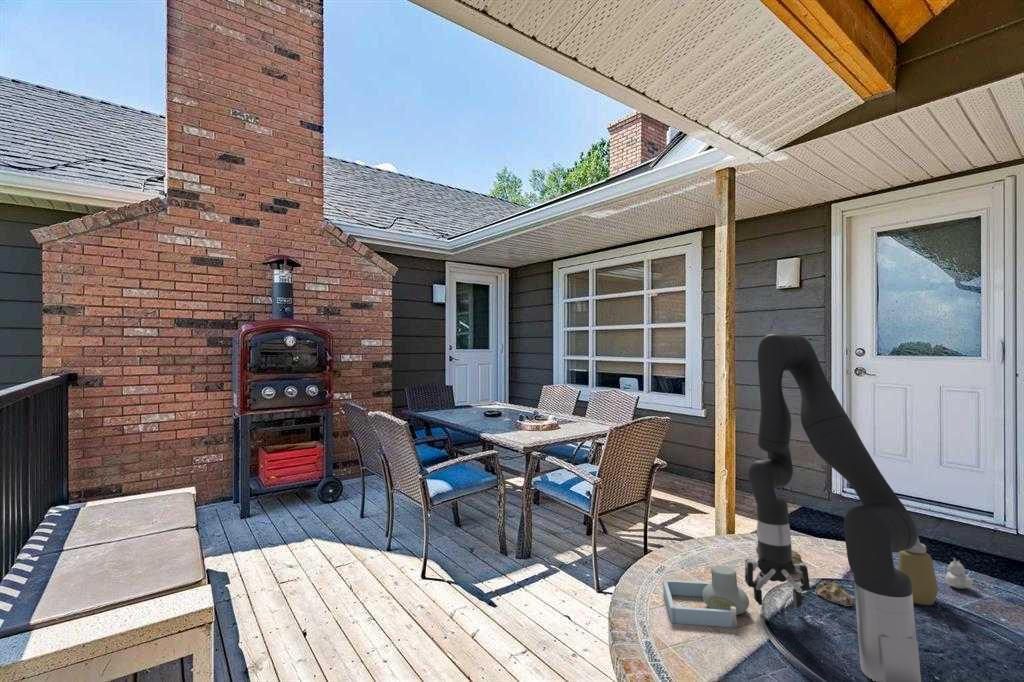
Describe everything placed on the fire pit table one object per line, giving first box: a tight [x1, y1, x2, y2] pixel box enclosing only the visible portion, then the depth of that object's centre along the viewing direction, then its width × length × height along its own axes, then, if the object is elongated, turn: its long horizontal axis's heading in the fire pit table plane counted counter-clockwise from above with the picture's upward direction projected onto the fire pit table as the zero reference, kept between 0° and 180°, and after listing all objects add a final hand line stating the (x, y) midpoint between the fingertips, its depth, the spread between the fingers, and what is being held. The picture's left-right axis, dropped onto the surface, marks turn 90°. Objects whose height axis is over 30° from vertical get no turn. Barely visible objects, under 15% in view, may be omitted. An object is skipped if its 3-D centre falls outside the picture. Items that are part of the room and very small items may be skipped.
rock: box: [755, 545, 804, 574], centre depth 148 cm, size 17×7×10 cm
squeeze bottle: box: [897, 537, 939, 606], centre depth 123 cm, size 8×8×18 cm
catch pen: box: [662, 579, 738, 629], centre depth 122 cm, size 16×15×4 cm
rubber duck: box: [945, 557, 974, 590], centre depth 129 cm, size 5×7×8 cm
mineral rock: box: [814, 580, 855, 606], centre depth 126 cm, size 11×4×8 cm
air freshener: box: [701, 565, 750, 616], centre depth 121 cm, size 11×8×10 cm
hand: (778, 604), depth 119 cm, fingers open, 8 cm apart
